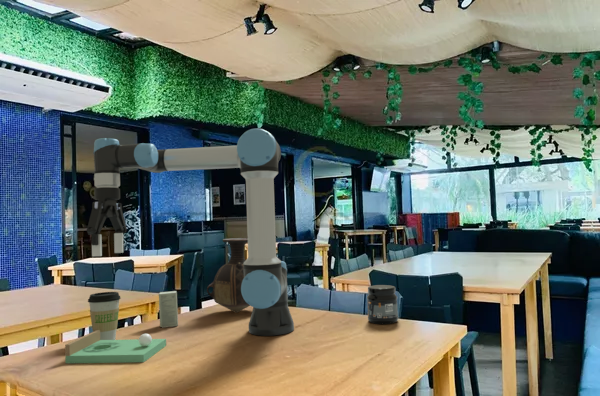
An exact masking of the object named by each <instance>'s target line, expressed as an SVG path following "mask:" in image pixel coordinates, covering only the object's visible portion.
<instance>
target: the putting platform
mask: <svg viewBox="0 0 600 396" xmlns="http://www.w3.org/2000/svg"><path fill="white" fill-rule="evenodd" d="M166 346H167V338H152V342H151V344H150V345H148V346H146V347H143V346H141V345H140V344H139V338H138V339H137V338H136V339H115V340H100V330H96V331H94V332H93V331H92V332H90V333H87V334H85V335H83V336H81V337H79V338H77V339H74V340H72V341H70V342H68V343H66V344H65V346H64V349H65V350H64V351H65V354H64V355H65V359H64V361H65V364H100V363H101V364H103V363H104V364H108V363H109V364H110V363H112V364H113V363H119V364H120V363H124V364H125V363H145V362H146V361H147V360H149V359H150V358H151V357H153V356H154V355H155V354H157V353H158V352H160V351H161V350H162V349H164V348H165V347H166Z"/></svg>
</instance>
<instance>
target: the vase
mask: <svg viewBox="0 0 600 396" xmlns="http://www.w3.org/2000/svg"><path fill="white" fill-rule="evenodd" d="M222 242H223V243H226V242H227V243H228V245H229V247H230V258H229V261H228V262H227V263H225V264H223V265H222V266H221V267H220V268H218V270H217V272H216V274H215V276H214V279H213V281H212V282H211V283H210V284H209V285H207V287H206V292H207V295H209V297H211V298H212V299H213V300H214V302H215V303H216V304H218V305H220V306H222V307H224V308H226V309H227V310H229V311H231V312H233V313H235V314H236V313H237V314H238V313H240V312H241V311H243V310H245V309H247V308H248V307H251V306H250V305H249V304H248V303H246V301H245V300H244V298H243V296H242V293H241V285H242V281H243V279H244V266H243V264H244V262H245V261H246V260H247V259H245V251H244V250H245V246H246V244H248V238H245V237H244V238H242V237H238V238H237V237H236V238H232V237H231V238H223V239H222ZM210 288H212V292H210V291H209V289H210Z"/></svg>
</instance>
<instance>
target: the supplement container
mask: <svg viewBox="0 0 600 396" xmlns="http://www.w3.org/2000/svg"><path fill="white" fill-rule="evenodd" d="M367 293H368V295H367V296H366V300H367V301H366V302H367V320H368V321H369V322H370V323H371V324H375V325H376V324H377V325H390V324H392V325H393V324H394V323H397V322H398V321H399V313H398V296H397V295H396V286H394V285H389V284H388V285H387V284H375V285H370V286H368V287H367Z"/></svg>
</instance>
